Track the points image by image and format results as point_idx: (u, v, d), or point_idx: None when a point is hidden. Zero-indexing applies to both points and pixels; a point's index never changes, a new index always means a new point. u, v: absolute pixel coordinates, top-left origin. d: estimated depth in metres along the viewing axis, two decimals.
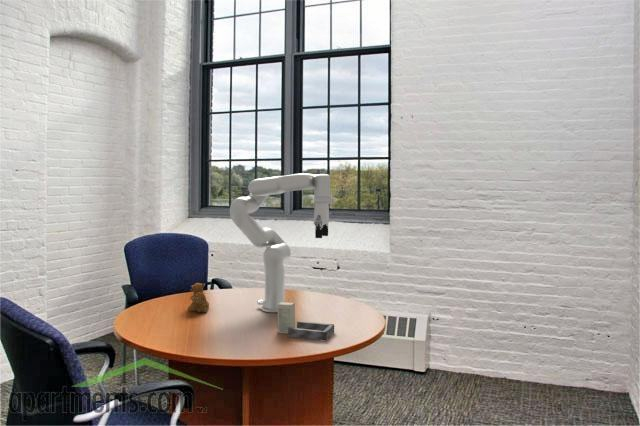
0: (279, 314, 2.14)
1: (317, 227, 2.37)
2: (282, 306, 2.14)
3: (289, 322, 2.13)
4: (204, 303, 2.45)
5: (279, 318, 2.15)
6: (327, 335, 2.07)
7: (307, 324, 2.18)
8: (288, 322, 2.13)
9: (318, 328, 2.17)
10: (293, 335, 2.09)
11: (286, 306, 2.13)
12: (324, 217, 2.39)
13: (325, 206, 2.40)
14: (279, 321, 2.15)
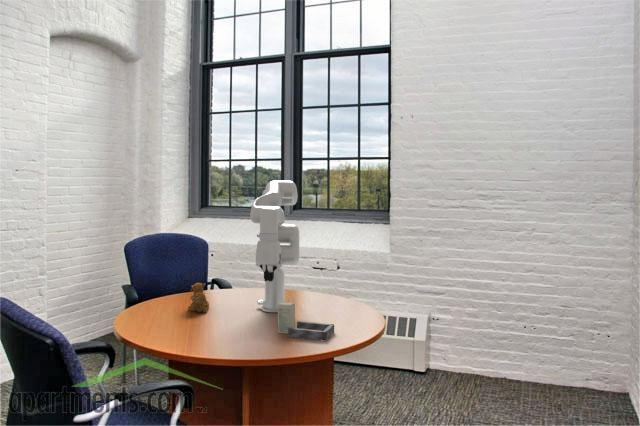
0: (279, 314, 2.14)
1: (275, 269, 2.16)
2: (282, 306, 2.14)
3: (289, 322, 2.13)
4: (204, 303, 2.45)
5: (279, 318, 2.15)
6: (327, 335, 2.07)
7: (307, 324, 2.18)
8: (288, 322, 2.13)
9: (318, 328, 2.17)
10: (293, 335, 2.09)
11: (286, 306, 2.13)
12: None
13: None
14: (279, 321, 2.15)
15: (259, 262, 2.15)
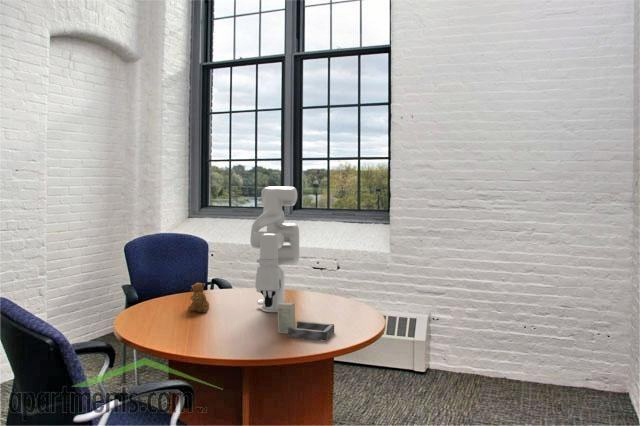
0: (279, 314, 2.14)
1: (274, 295, 2.16)
2: (282, 306, 2.14)
3: (289, 322, 2.13)
4: (204, 303, 2.45)
5: (279, 318, 2.15)
6: (327, 335, 2.07)
7: (307, 324, 2.18)
8: (288, 322, 2.13)
9: (318, 328, 2.17)
10: (293, 335, 2.09)
11: (286, 306, 2.13)
12: None
13: None
14: (279, 321, 2.15)
15: (259, 288, 2.15)
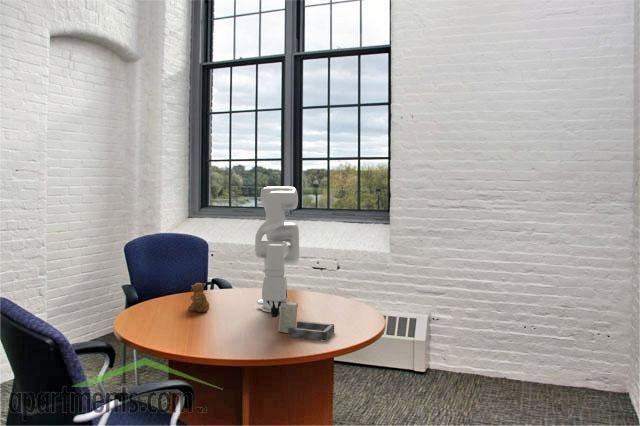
0: (281, 313, 2.14)
1: (280, 305, 2.16)
2: (285, 305, 2.13)
3: (290, 322, 2.13)
4: (204, 303, 2.45)
5: (281, 317, 2.14)
6: (327, 335, 2.07)
7: (307, 324, 2.18)
8: (290, 321, 2.13)
9: (318, 328, 2.17)
10: (293, 335, 2.09)
11: (289, 306, 2.13)
12: None
13: None
14: (280, 320, 2.14)
15: (265, 298, 2.15)
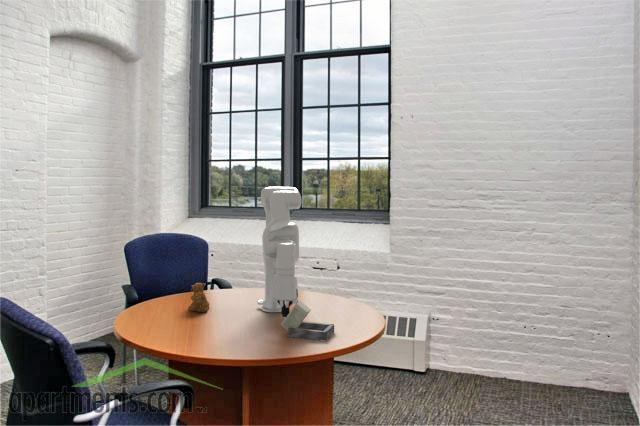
0: (292, 312, 2.12)
1: (291, 304, 2.14)
2: (299, 308, 2.11)
3: (296, 324, 2.12)
4: (204, 303, 2.45)
5: (289, 315, 2.12)
6: (327, 335, 2.07)
7: (307, 324, 2.18)
8: (296, 323, 2.12)
9: (318, 328, 2.17)
10: (293, 335, 2.09)
11: (302, 310, 2.10)
12: None
13: None
14: (288, 317, 2.13)
15: (276, 297, 2.13)
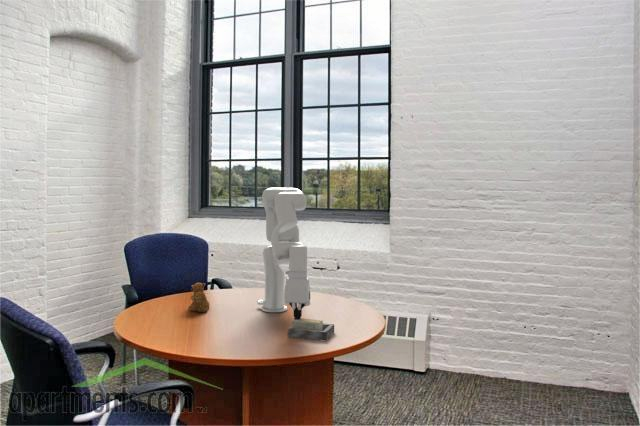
0: (309, 323, 2.10)
1: None
2: (317, 328, 2.09)
3: None
4: (204, 303, 2.46)
5: (305, 323, 2.11)
6: (327, 335, 2.07)
7: None
8: None
9: None
10: (293, 335, 2.09)
11: None
12: None
13: None
14: (302, 322, 2.11)
15: (288, 300, 2.12)
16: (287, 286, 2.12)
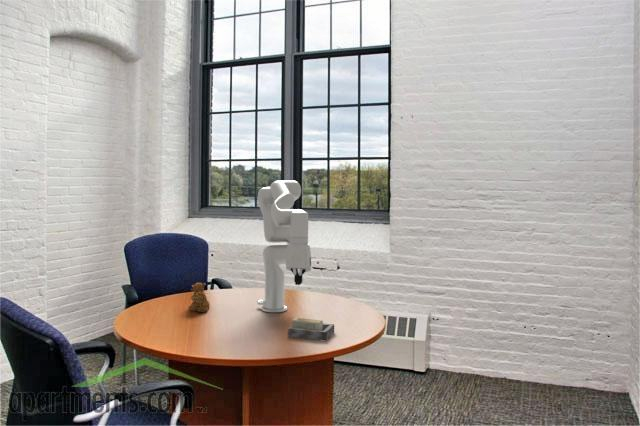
0: (309, 323, 2.10)
1: (304, 272, 2.16)
2: (317, 328, 2.09)
3: None
4: (204, 303, 2.46)
5: (305, 323, 2.11)
6: (327, 335, 2.07)
7: None
8: None
9: None
10: (293, 335, 2.09)
11: None
12: None
13: None
14: (302, 322, 2.11)
15: (289, 266, 2.15)
16: (288, 252, 2.15)
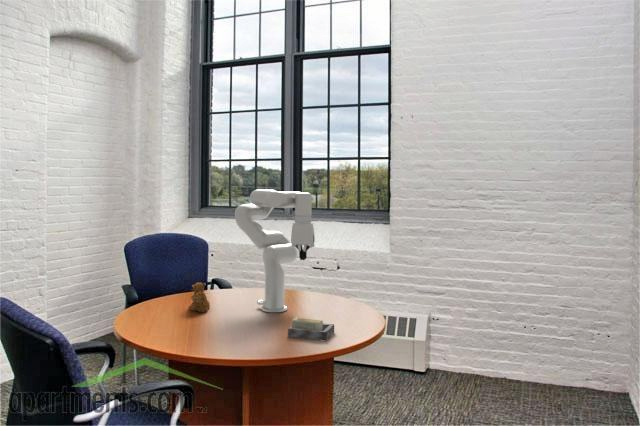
0: (309, 323, 2.10)
1: (308, 248, 2.36)
2: (317, 328, 2.09)
3: None
4: (204, 303, 2.46)
5: (305, 323, 2.11)
6: (327, 335, 2.07)
7: None
8: None
9: None
10: (293, 335, 2.09)
11: None
12: None
13: None
14: (302, 322, 2.11)
15: (294, 242, 2.34)
16: (293, 229, 2.34)
